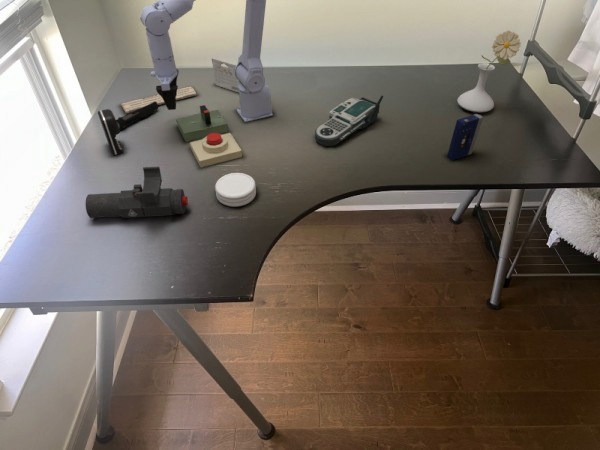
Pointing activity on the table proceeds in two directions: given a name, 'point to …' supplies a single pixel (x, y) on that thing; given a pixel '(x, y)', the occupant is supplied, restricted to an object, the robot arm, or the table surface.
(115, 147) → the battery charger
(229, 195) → the coaster
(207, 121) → the black rectangular block
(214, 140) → the power button
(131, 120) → the electric trimmer
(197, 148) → the box
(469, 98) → the flower in vase
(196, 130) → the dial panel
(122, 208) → the laser sight
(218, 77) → the ink cartridge box
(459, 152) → the cassette player
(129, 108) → the newspaper
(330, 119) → the communication device
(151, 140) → the table surface
